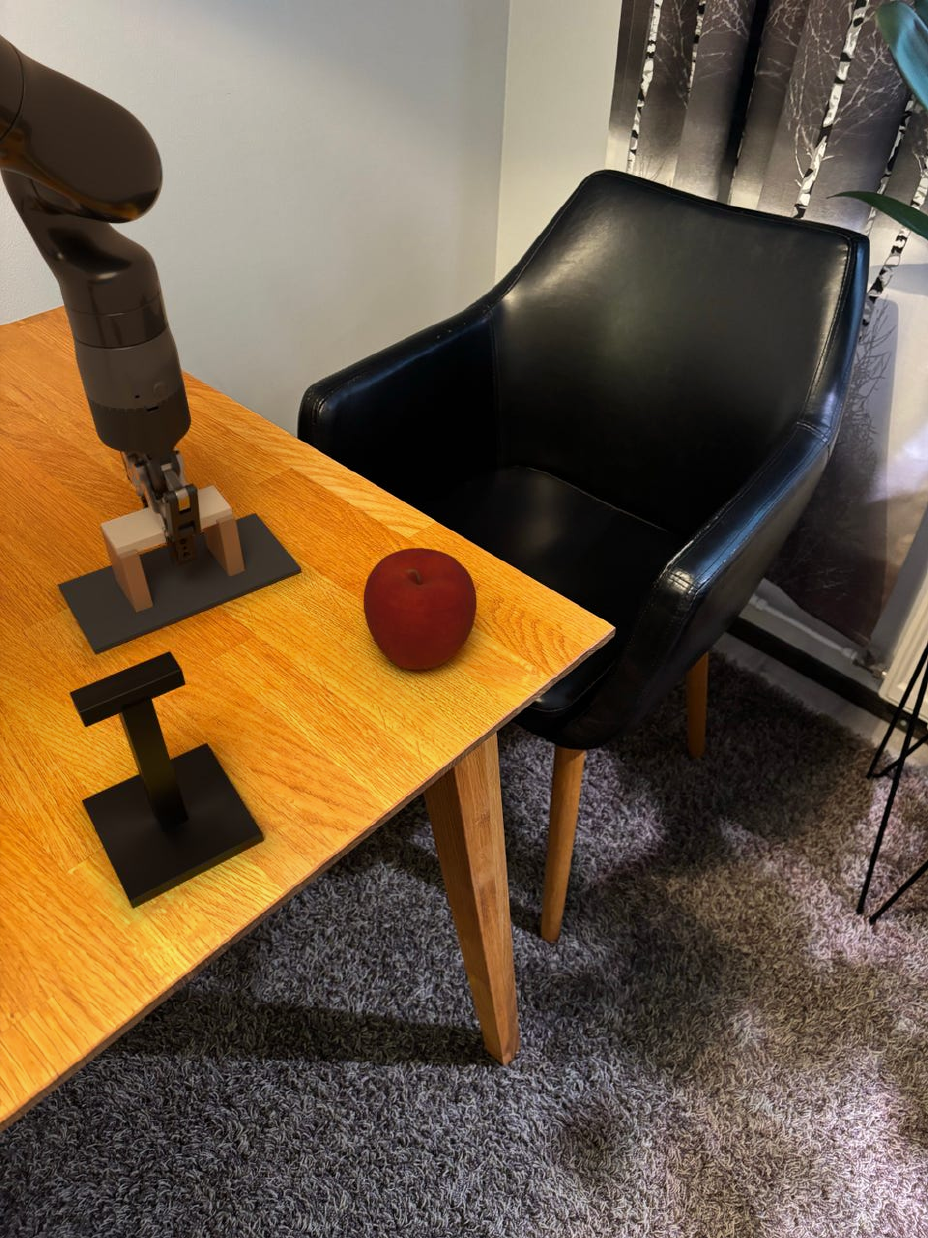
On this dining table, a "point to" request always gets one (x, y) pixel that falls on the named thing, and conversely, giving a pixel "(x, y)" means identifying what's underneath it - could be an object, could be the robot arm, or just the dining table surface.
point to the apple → (419, 607)
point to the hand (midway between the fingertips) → (173, 544)
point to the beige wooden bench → (146, 532)
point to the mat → (175, 586)
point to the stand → (160, 790)
